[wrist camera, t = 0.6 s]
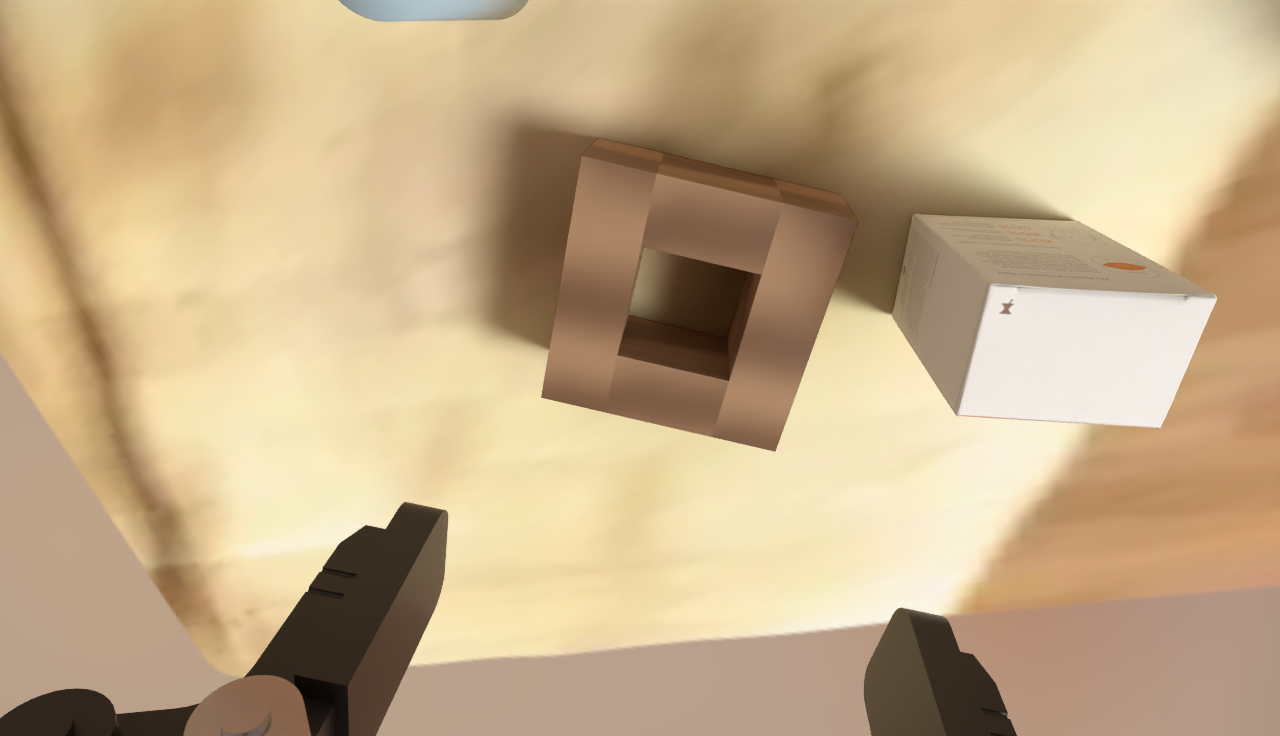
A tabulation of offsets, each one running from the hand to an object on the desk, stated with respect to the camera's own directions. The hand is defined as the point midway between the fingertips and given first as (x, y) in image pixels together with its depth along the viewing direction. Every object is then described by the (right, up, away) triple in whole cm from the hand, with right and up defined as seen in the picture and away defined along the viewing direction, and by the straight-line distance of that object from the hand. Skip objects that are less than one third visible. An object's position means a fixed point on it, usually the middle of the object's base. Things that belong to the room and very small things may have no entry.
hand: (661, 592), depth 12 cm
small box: (+17, +9, +23) cm, 30 cm away
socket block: (+2, +9, +24) cm, 26 cm away
